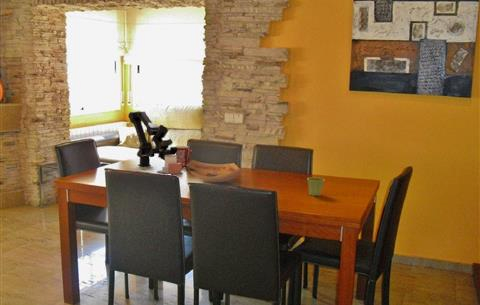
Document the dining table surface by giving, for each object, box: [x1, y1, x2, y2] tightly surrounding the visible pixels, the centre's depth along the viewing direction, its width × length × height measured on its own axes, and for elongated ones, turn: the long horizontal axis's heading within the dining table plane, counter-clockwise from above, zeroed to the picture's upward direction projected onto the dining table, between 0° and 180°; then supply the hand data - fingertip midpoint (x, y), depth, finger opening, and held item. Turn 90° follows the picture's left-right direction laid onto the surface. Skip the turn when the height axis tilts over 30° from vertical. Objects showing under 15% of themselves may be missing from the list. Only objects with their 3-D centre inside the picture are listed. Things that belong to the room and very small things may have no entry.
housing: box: [156, 163, 184, 176], centre depth 307 cm, size 14×10×7 cm
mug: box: [175, 145, 194, 168], centre depth 330 cm, size 13×9×14 cm
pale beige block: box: [164, 154, 177, 168], centre depth 306 cm, size 4×6×10 cm
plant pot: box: [306, 176, 326, 197], centre depth 263 cm, size 9×9×9 cm
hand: (168, 162), depth 307 cm, fingers closed
